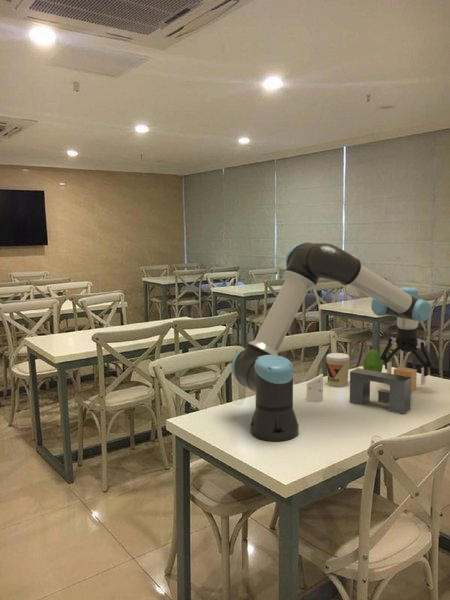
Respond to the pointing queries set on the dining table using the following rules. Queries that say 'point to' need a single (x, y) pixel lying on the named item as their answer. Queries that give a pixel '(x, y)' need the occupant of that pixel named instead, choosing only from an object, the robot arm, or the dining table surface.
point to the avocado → (373, 361)
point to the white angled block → (315, 389)
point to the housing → (398, 383)
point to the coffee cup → (337, 369)
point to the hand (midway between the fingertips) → (405, 380)
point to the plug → (408, 372)
